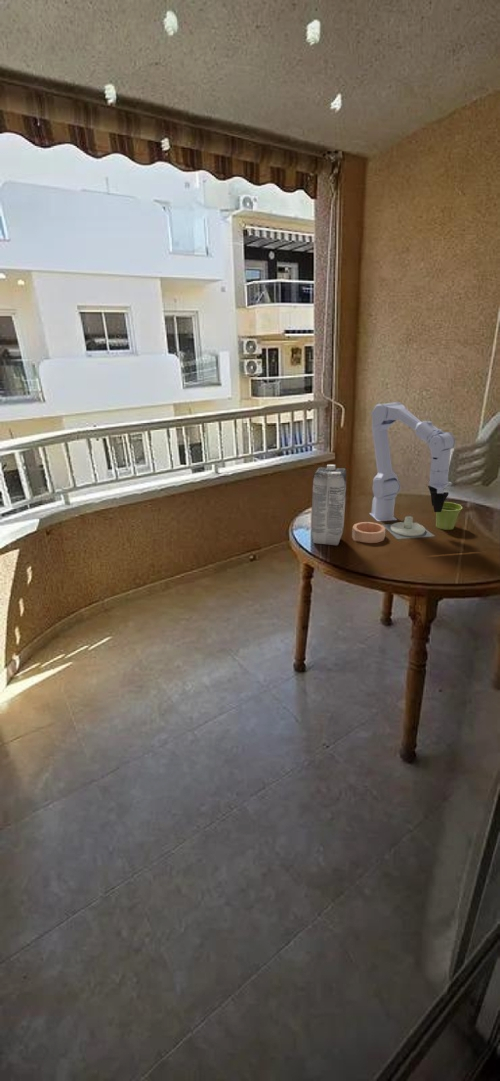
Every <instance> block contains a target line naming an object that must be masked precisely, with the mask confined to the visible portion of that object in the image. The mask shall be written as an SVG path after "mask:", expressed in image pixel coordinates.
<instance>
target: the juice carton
mask: <svg viewBox="0 0 500 1081" xmlns="http://www.w3.org/2000/svg"><path fill="white" fill-rule="evenodd" d="M346 491H347V469H345V468H336V464H327V465H326V467H322V466H319V467H318V468H317V470H316V471H315V472H314V474H313V482H312V502H311V503H312V504H311V505H312V506H311V507H312V508H311V509H312V510H311V511H312V512H311V534H312V535H311V536H312V537H311V538H312V541H313V543H314V544H319V545H330V546H339V543H340V540H341V538H342V535H343V532H344V526H345V524H344V523H345V513H346V512H345V511H346V510H345V508H346V497H347V495H346V494H347V492H346Z"/></svg>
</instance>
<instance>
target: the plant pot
mask: <svg viewBox="0 0 500 1081" xmlns="http://www.w3.org/2000/svg"><path fill="white" fill-rule="evenodd" d="M462 509H463V506H462V505H461V504H459V503H455V502H450V501H444V504H443V508H442V511H441V512H435V527H436V528H438V529H441V530H446V531H447V530H448V531H451V530H453V529H454V528H455V525H456V523H457V520H458V518H459V515H460V513H461V511H462Z"/></svg>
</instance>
